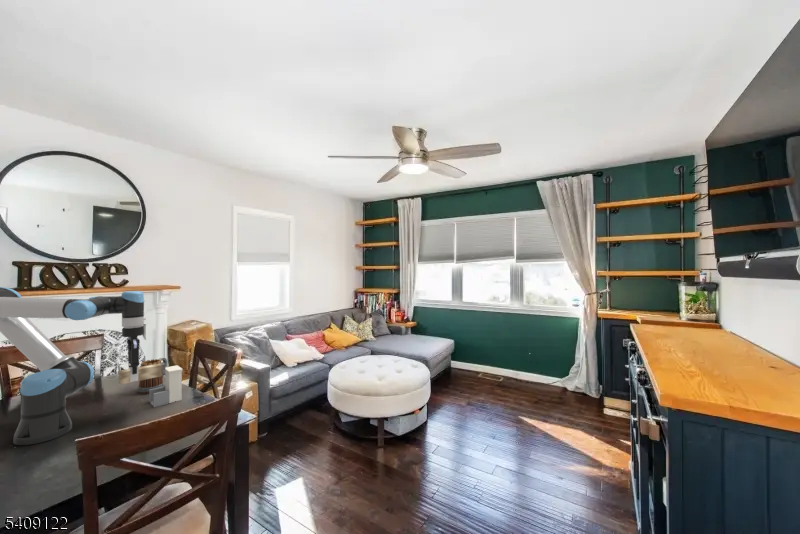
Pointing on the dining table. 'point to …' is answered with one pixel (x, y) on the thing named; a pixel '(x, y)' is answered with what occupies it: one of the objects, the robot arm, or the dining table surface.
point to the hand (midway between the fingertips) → (133, 379)
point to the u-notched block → (168, 388)
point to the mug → (152, 382)
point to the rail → (143, 373)
